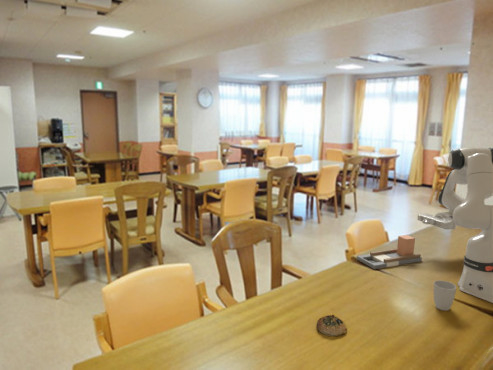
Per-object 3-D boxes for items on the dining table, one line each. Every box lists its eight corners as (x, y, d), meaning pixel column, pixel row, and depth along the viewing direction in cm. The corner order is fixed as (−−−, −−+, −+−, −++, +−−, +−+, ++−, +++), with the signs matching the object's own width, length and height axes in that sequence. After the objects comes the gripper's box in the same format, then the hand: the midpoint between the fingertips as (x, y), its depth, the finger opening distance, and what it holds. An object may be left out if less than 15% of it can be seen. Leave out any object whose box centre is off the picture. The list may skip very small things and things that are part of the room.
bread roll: (324, 316, 143) (326, 305, 141) (351, 330, 136) (353, 319, 135) (310, 330, 134) (312, 318, 133) (337, 345, 128) (340, 333, 126)
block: (413, 255, 203) (415, 238, 201) (404, 256, 200) (406, 239, 199) (405, 251, 208) (406, 234, 206) (396, 253, 206) (398, 236, 204)
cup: (457, 312, 147) (460, 289, 145) (437, 312, 147) (439, 289, 145) (447, 302, 155) (449, 280, 153) (427, 302, 155) (430, 280, 153)
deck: (421, 261, 200) (422, 255, 199) (374, 269, 188) (374, 262, 188) (402, 252, 213) (402, 246, 212) (356, 259, 201) (357, 253, 201)
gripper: (428, 210, 219) (410, 212, 214) (459, 219, 201) (440, 221, 196) (427, 220, 221) (409, 222, 216) (457, 230, 202) (439, 233, 197)
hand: (424, 222), depth 206 cm, fingers closed
